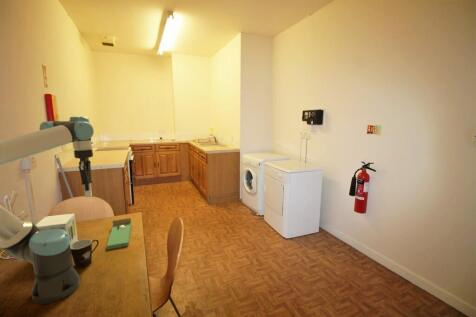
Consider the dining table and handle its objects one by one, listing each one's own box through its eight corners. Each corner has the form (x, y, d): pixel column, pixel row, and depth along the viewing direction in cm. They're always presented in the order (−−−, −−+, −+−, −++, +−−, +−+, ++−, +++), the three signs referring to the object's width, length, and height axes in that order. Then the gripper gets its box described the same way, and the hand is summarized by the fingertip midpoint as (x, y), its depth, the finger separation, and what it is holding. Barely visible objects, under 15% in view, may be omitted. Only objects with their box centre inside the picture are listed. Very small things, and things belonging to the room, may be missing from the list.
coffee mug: (73, 272, 103) (70, 251, 102) (71, 263, 110) (68, 243, 108) (103, 262, 111) (100, 242, 109) (99, 253, 117) (97, 235, 115)
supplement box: (70, 257, 115) (65, 223, 112) (37, 262, 111) (31, 227, 108) (79, 243, 127) (75, 212, 124) (49, 247, 123) (45, 216, 120)
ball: (122, 226, 138) (124, 223, 142) (116, 228, 138) (119, 224, 142) (125, 231, 139) (127, 228, 143) (119, 233, 139) (121, 229, 143)
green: (128, 245, 125) (127, 237, 124) (107, 249, 121) (106, 240, 120) (131, 225, 148) (130, 217, 148) (113, 227, 145) (112, 220, 144)
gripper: (89, 150, 108) (94, 199, 112) (94, 147, 120) (99, 191, 124) (69, 151, 105) (76, 201, 109) (77, 148, 117) (83, 193, 121)
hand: (88, 196), depth 117 cm, fingers closed
